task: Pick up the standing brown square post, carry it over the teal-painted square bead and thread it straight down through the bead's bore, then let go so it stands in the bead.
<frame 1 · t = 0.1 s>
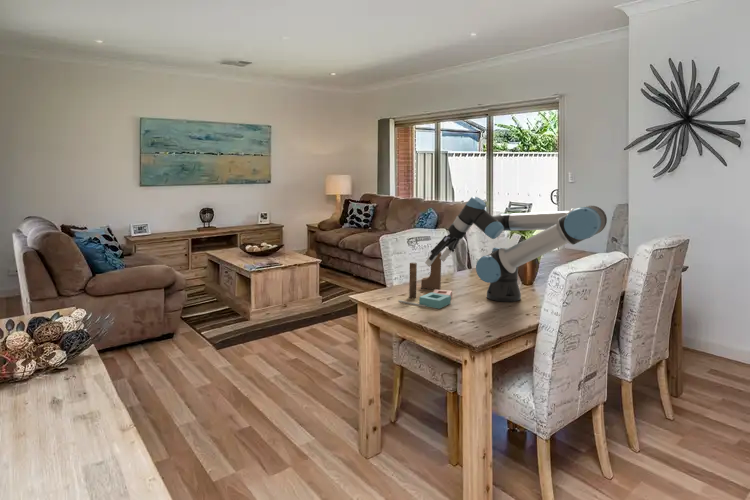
hand: (434, 262, 230), 15 cm above the table, tool tilted 35°, fingers open, 13 cm apart
teal bead: (434, 304, 216), on the table
brown square post: (412, 297, 227), on the table
grey cord: (412, 304, 216), on the table
wooden block: (430, 288, 244), on the table
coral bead: (442, 298, 225), on the table
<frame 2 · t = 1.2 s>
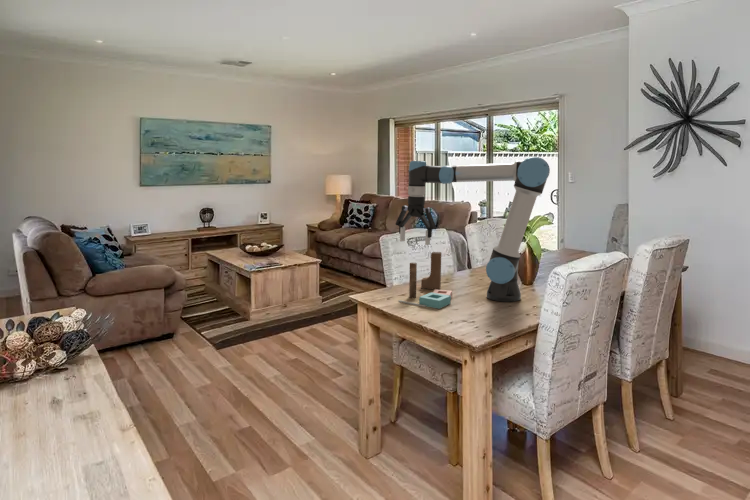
hand: (414, 242, 223), 25 cm above the table, tool pointing down, fingers open, 13 cm apart
nothing on the table moved.
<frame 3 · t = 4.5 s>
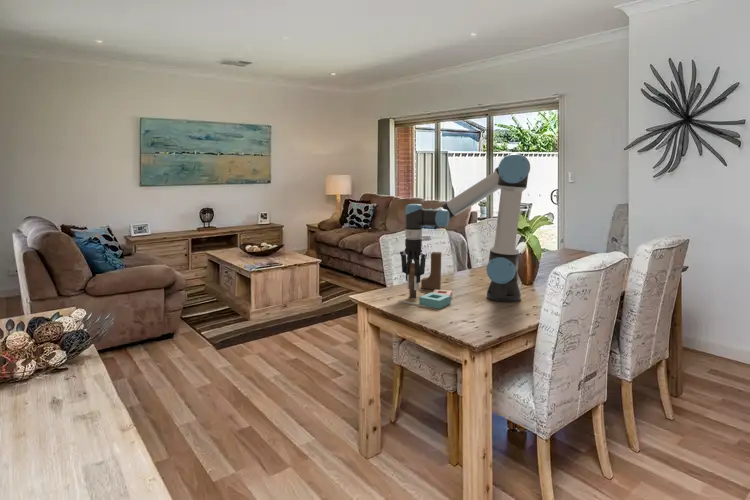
hand: (412, 288, 227), 4 cm above the table, tool pointing down, fingers closed on brown square post, 3 cm apart
brown square post: (412, 297, 227), on the table, touching gripper
everything else where it was.
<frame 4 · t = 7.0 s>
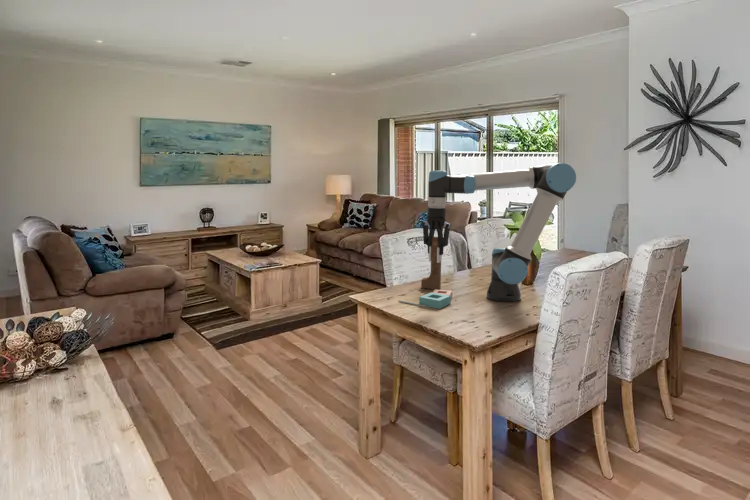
hand: (435, 261, 213), 19 cm above the table, tool pointing down, fingers closed on brown square post, 3 cm apart
brown square post: (434, 273, 213), point 14 cm above the table, touching gripper
everything else where it was.
when the fingers open (6 cm above the table, at t = 9.5 s): brown square post stays where it is, resting in teal bead.
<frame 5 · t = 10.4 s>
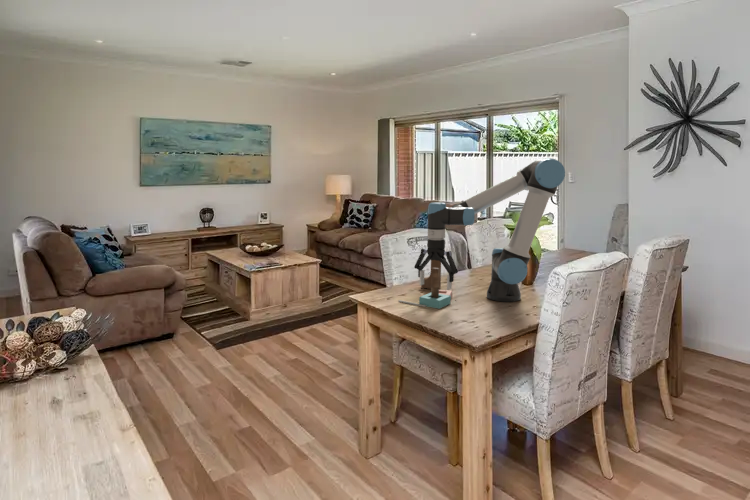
hand: (435, 287, 215), 8 cm above the table, tool pointing down, fingers open, 13 cm apart
brown square post: (434, 304, 216), resting in teal bead
everything else where it was.
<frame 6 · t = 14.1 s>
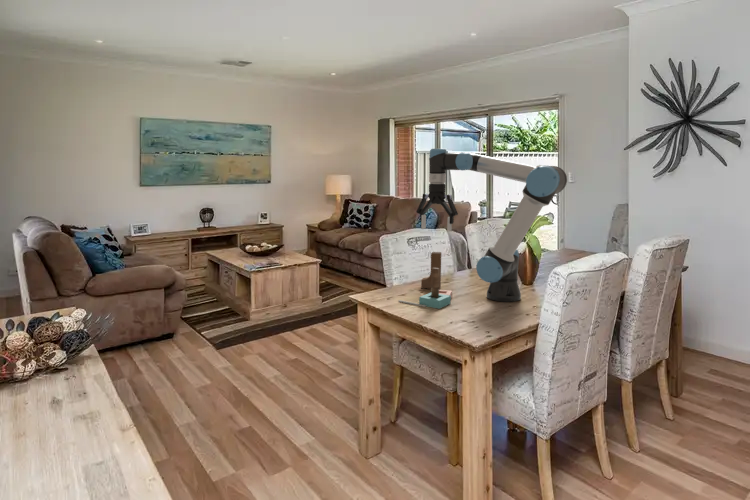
hand: (436, 229, 226), 31 cm above the table, tool pointing down, fingers open, 13 cm apart
nothing on the table moved.
at the end: brown square post 0.1 cm off-centre on the teal bead, point 0.0 cm above the teal bead's base; brown square post tilted 0°; the gripper is holding nothing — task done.
